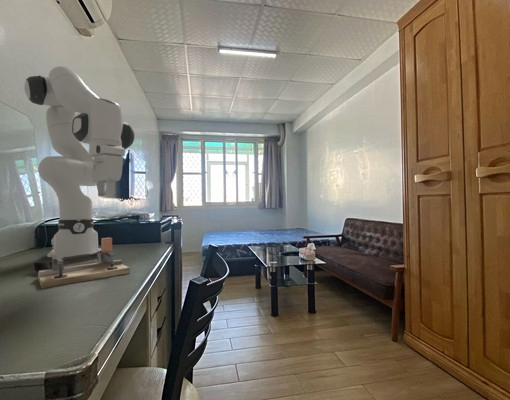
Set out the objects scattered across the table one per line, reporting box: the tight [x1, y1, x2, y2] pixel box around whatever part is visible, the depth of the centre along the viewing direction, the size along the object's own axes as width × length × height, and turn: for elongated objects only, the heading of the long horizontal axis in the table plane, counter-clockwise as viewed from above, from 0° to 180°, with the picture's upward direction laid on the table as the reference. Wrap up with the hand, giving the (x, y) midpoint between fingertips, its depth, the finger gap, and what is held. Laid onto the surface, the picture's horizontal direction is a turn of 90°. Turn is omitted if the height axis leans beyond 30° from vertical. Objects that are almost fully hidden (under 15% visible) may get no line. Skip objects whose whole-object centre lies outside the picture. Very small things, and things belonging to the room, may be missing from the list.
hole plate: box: [37, 256, 131, 289], centre depth 75 cm, size 12×20×6 cm, turn 132°
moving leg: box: [100, 237, 115, 267], centre depth 79 cm, size 8×2×8 cm, turn 42°
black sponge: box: [32, 253, 99, 273], centre depth 86 cm, size 16×8×4 cm, turn 156°
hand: (105, 196), depth 83 cm, fingers open, 8 cm apart
